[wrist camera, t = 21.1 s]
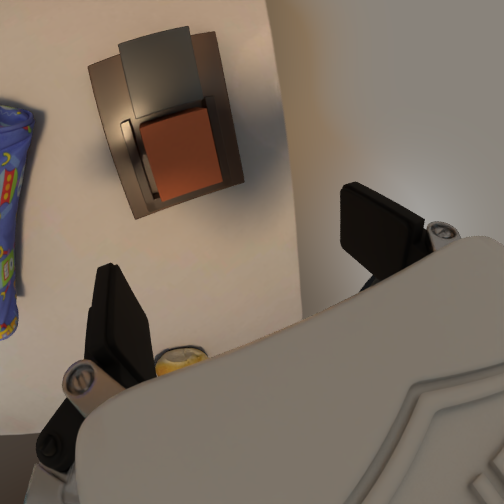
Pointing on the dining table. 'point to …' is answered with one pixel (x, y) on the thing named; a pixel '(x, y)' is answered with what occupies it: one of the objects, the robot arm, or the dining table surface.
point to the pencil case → (11, 205)
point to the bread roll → (178, 360)
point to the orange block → (181, 152)
